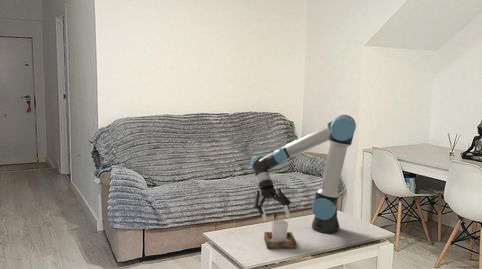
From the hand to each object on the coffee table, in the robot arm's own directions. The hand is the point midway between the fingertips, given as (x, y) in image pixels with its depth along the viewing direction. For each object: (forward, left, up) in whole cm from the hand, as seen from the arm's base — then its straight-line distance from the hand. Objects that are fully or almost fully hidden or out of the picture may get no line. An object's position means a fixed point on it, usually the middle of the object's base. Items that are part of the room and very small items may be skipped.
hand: (277, 218), depth 218 cm
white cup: (-1, +2, -11) cm, 11 cm away
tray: (-1, +2, -12) cm, 12 cm away
